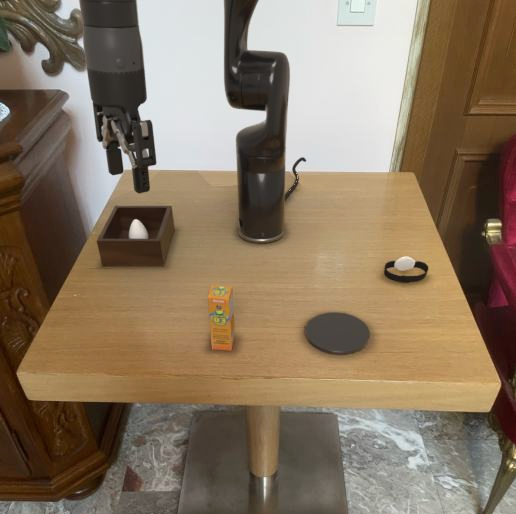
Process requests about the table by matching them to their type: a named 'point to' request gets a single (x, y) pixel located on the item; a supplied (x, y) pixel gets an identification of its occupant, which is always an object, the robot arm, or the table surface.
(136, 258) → the crate
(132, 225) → the egg
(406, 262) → the watch
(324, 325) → the coaster
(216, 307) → the supplement box
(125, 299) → the table surface
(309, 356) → the table surface
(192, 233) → the table surface
